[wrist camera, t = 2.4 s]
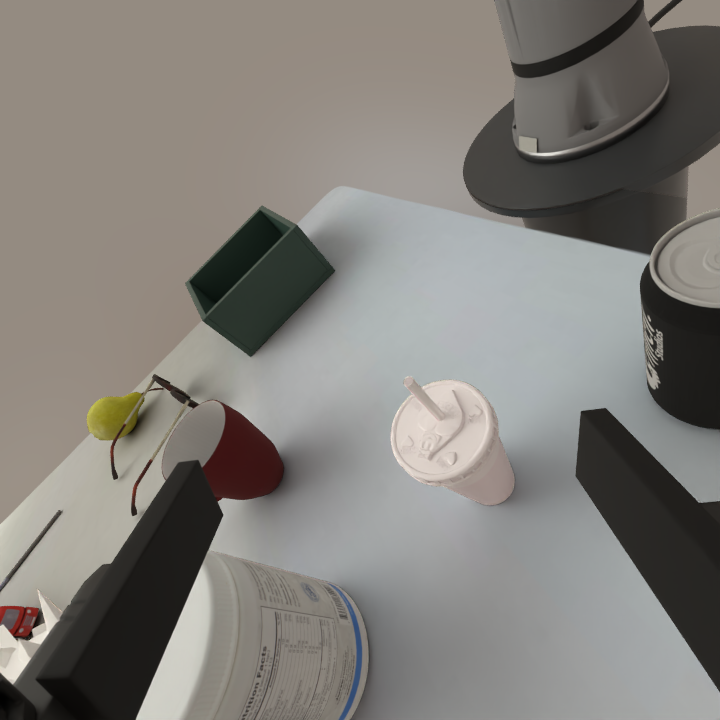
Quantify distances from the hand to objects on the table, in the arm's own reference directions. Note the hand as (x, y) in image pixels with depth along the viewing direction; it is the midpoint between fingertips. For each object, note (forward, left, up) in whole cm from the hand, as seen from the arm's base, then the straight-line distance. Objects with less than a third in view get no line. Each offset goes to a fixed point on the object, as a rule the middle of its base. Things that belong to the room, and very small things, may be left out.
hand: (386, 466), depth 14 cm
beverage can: (-16, +1, -18) cm, 24 cm away
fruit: (+35, -52, -13) cm, 65 cm away
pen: (+48, -51, -17) cm, 72 cm away
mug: (+15, -22, -18) cm, 32 cm away
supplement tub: (+16, -5, -18) cm, 24 cm away
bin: (0, -50, -18) cm, 53 cm away
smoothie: (-2, -5, -18) cm, 19 cm away
